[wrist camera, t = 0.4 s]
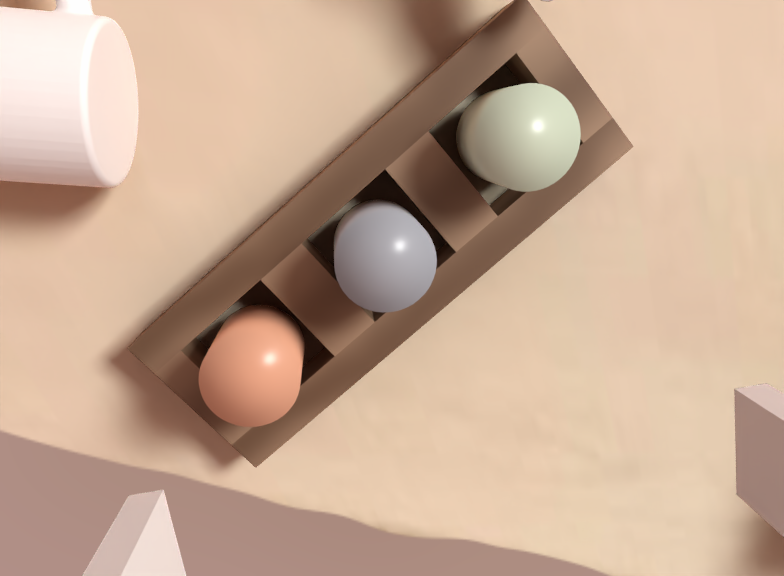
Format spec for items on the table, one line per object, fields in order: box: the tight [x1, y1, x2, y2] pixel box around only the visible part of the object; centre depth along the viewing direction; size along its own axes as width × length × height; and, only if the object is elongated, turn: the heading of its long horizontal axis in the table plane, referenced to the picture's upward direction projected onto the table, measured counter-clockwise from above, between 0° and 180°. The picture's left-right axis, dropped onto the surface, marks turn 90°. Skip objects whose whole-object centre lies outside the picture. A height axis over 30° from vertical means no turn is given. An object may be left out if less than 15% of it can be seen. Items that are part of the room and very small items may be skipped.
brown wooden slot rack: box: [128, 0, 633, 467], centre depth 37 cm, size 10×28×3 cm, turn 131°
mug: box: [0, 0, 138, 188], centre depth 30 cm, size 12×10×8 cm
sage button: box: [456, 83, 581, 192], centre depth 33 cm, size 5×5×5 cm
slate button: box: [334, 200, 437, 312], centre depth 34 cm, size 5×5×5 cm
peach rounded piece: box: [199, 305, 305, 427], centre depth 35 cm, size 5×5×5 cm
